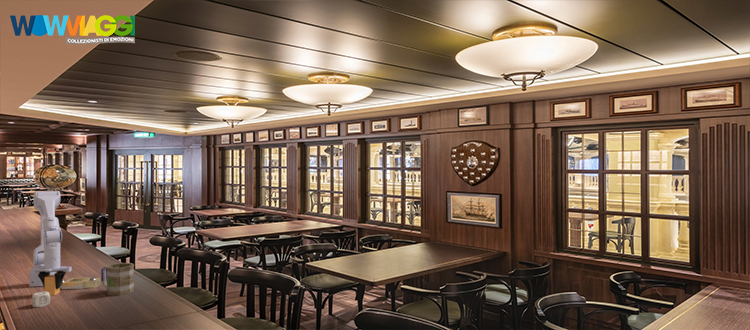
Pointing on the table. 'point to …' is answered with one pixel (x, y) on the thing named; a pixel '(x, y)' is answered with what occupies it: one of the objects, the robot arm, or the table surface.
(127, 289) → the mug
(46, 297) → the die
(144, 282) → the table surface
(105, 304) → the table surface
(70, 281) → the square frame connector
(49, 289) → the orange rectangular peg
